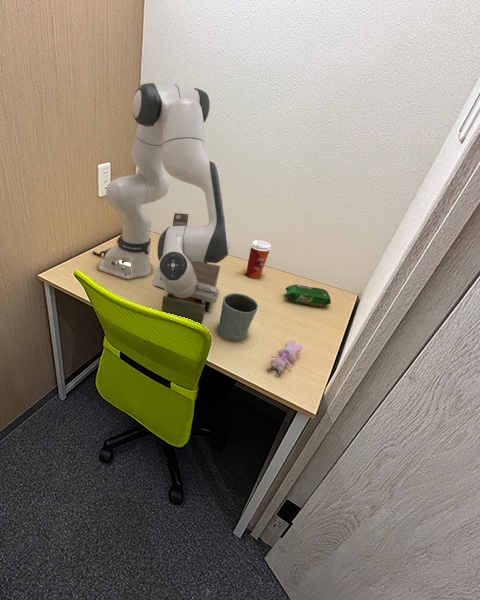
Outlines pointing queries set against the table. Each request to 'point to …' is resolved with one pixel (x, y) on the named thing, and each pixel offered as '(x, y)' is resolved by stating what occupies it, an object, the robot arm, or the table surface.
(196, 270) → the cabinet
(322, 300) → the snack package
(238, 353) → the table surface
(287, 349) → the rabbit figure
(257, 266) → the paper cup
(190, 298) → the terracotta hollow cylinder
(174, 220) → the coffee box
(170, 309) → the drawer
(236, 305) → the grey green plant pot
